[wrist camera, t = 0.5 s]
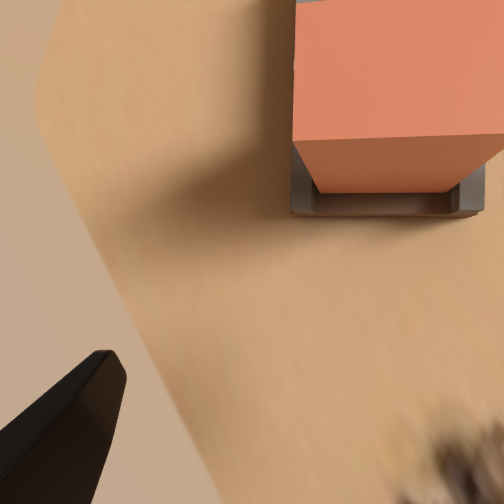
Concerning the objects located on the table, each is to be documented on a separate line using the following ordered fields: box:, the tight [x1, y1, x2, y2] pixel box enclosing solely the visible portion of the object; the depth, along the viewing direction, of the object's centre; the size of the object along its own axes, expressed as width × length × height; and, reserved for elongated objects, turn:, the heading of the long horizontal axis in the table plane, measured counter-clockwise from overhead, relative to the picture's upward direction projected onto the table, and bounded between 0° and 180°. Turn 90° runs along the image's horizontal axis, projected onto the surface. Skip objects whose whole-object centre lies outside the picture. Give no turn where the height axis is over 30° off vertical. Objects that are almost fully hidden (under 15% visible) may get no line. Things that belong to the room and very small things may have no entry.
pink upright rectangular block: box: [292, 0, 504, 193], centre depth 17 cm, size 4×6×10 cm, turn 88°
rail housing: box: [290, 0, 485, 217], centre depth 22 cm, size 14×9×4 cm, turn 178°
